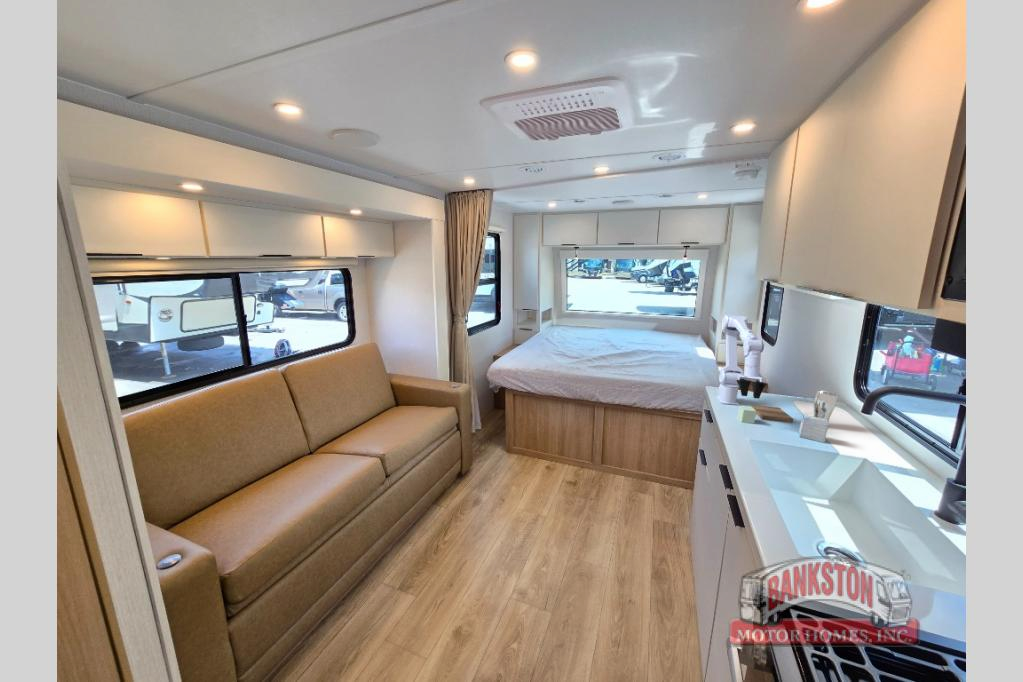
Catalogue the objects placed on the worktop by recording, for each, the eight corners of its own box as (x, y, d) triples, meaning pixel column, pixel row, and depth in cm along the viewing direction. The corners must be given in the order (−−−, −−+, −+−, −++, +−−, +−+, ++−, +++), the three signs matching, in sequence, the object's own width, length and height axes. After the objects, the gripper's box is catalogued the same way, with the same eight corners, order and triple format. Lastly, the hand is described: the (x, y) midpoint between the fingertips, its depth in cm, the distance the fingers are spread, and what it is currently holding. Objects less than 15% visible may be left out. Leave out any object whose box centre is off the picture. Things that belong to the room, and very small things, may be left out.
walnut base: (750, 408, 172) (751, 405, 171) (778, 411, 170) (779, 407, 169) (762, 419, 161) (763, 415, 160) (792, 422, 158) (793, 418, 158)
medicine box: (822, 438, 144) (827, 419, 142) (824, 443, 141) (829, 423, 139) (798, 433, 149) (802, 414, 147) (799, 437, 145) (803, 417, 143)
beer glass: (827, 429, 152) (835, 397, 149) (806, 423, 158) (814, 392, 154) (831, 425, 156) (839, 393, 153) (811, 419, 162) (819, 388, 158)
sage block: (737, 417, 162) (739, 405, 161) (749, 418, 161) (751, 406, 160) (741, 422, 157) (743, 410, 156) (754, 423, 156) (756, 411, 155)
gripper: (732, 364, 164) (730, 394, 163) (755, 366, 149) (753, 398, 149) (747, 366, 164) (745, 395, 164) (771, 367, 150) (769, 400, 149)
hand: (750, 397), depth 156 cm, fingers open, 7 cm apart
